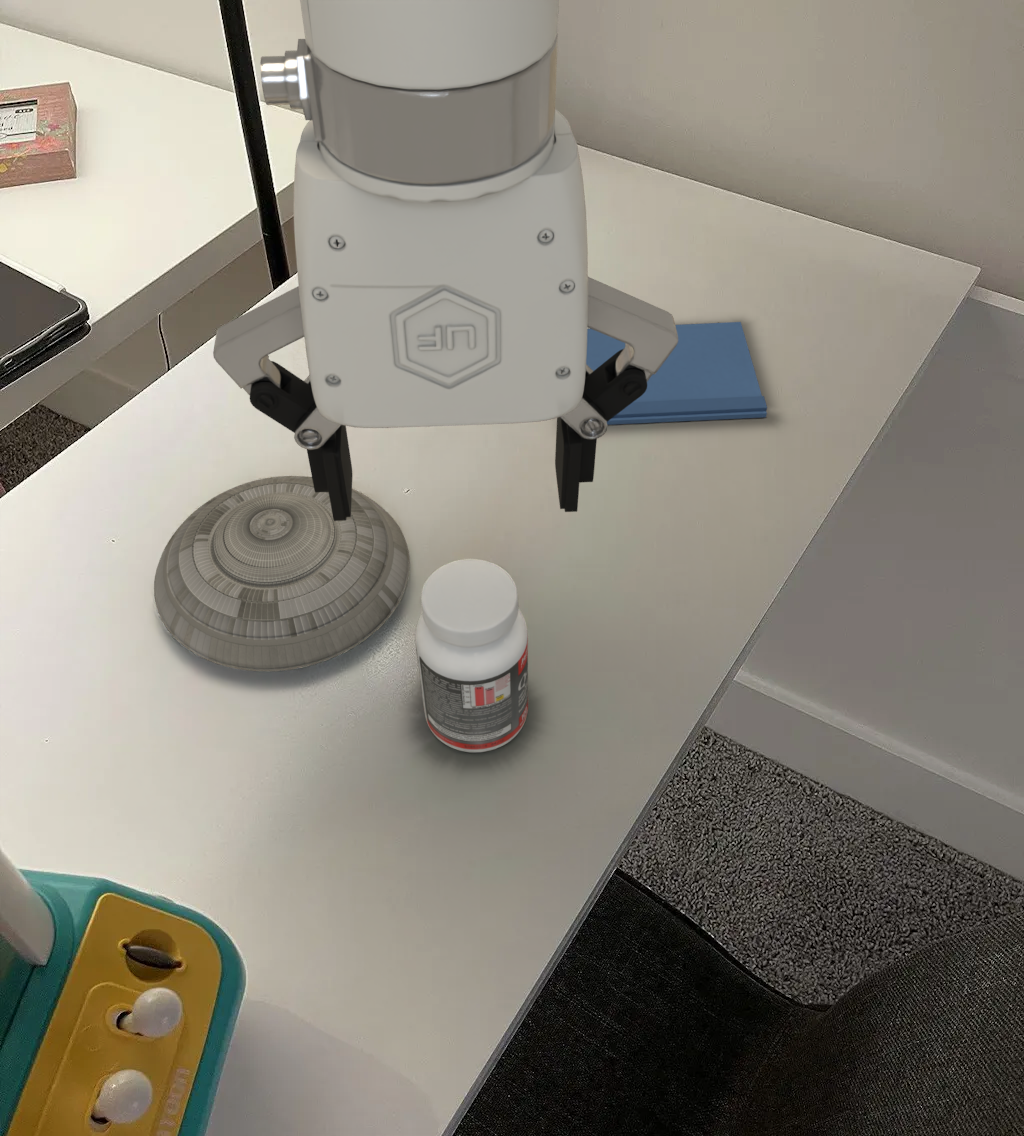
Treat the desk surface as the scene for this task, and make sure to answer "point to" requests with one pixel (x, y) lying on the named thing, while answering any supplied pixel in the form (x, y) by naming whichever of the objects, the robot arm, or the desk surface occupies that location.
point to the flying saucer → (280, 576)
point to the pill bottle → (472, 656)
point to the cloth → (692, 377)
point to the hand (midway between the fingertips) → (455, 493)
